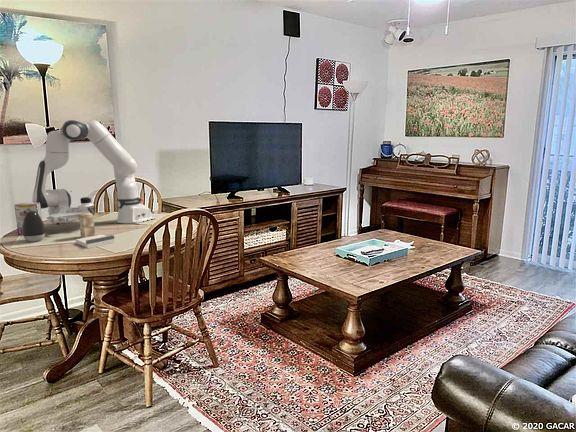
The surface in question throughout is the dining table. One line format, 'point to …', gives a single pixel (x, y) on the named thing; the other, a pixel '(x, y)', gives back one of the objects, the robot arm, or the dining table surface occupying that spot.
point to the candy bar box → (25, 207)
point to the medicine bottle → (87, 205)
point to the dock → (95, 241)
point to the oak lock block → (87, 225)
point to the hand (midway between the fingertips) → (76, 218)
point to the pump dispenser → (33, 227)
